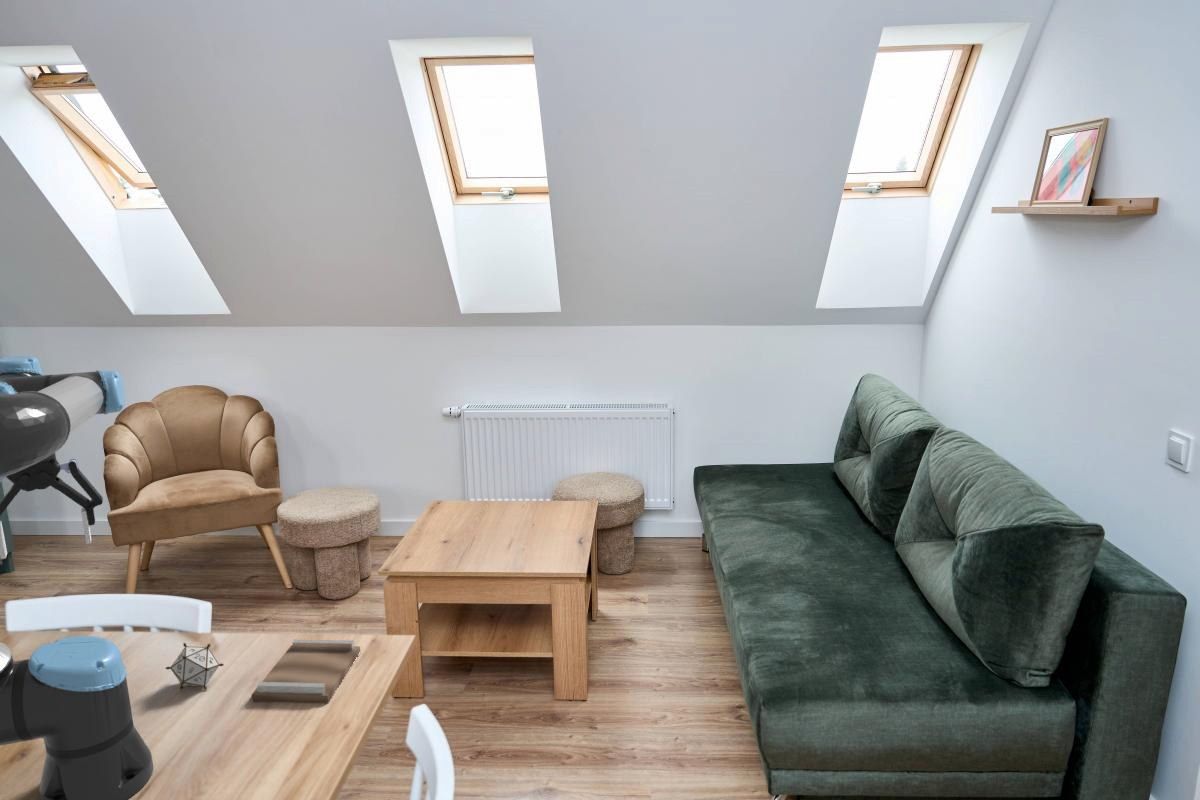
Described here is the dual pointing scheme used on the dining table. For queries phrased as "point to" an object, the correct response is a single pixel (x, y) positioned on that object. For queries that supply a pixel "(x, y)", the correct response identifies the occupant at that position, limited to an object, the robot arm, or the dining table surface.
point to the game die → (194, 666)
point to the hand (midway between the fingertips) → (47, 549)
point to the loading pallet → (308, 672)
